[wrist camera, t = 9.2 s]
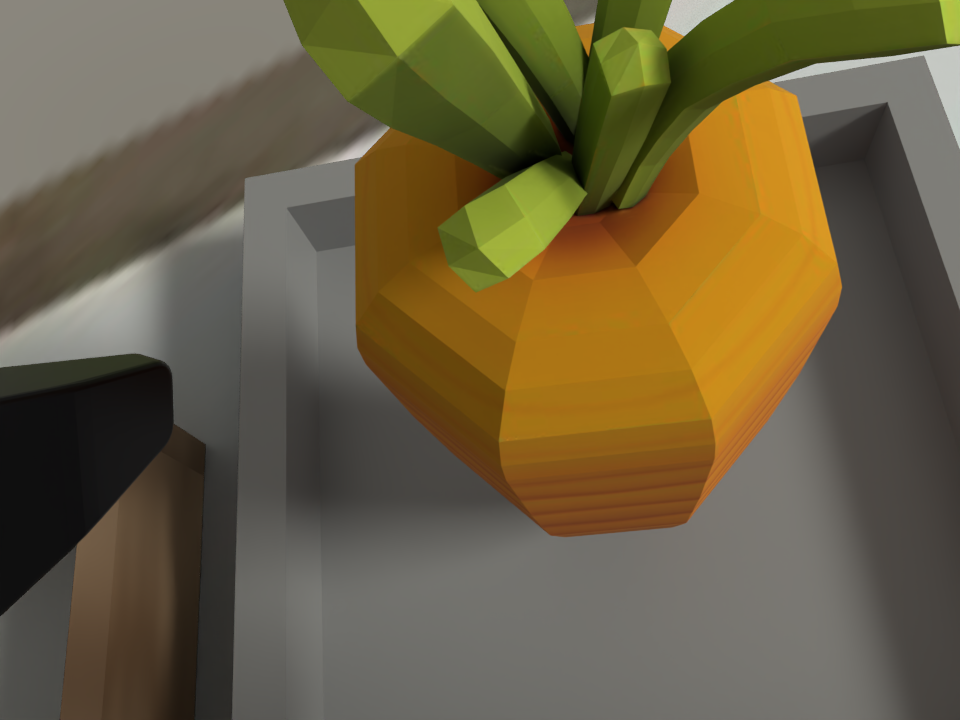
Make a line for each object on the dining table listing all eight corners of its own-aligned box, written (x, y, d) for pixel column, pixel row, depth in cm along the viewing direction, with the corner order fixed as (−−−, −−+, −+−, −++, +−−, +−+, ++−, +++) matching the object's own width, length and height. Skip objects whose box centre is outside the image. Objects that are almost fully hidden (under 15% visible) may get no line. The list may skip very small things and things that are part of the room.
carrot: (657, 327, 19) (696, -669, 5) (788, 530, 17) (1418, -216, 3) (455, 434, 19) (-51, -290, 5) (562, 650, 17) (211, 415, 3)
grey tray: (1127, 850, 15) (1235, 878, 12) (293, 912, 17) (226, 949, 14) (886, 142, 21) (923, 55, 18) (292, 244, 23) (244, 178, 20)
